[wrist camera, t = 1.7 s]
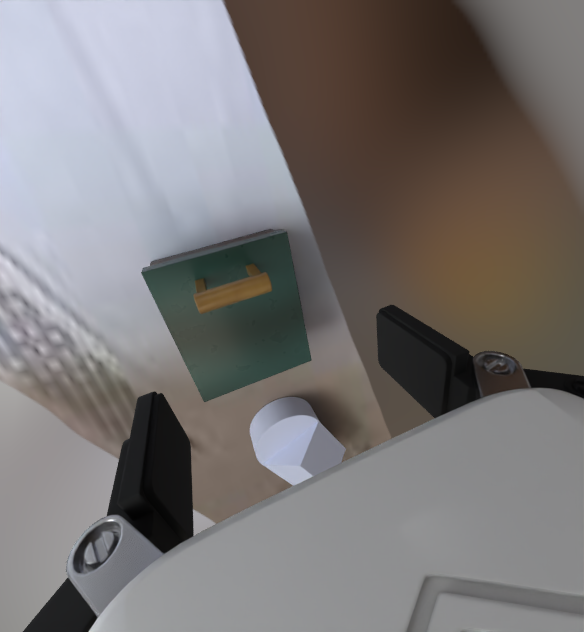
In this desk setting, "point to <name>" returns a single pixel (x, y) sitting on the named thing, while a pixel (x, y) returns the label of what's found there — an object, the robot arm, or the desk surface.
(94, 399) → the desk surface
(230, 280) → the panel with handle
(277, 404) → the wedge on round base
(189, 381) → the desk surface
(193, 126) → the desk surface
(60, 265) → the desk surface
